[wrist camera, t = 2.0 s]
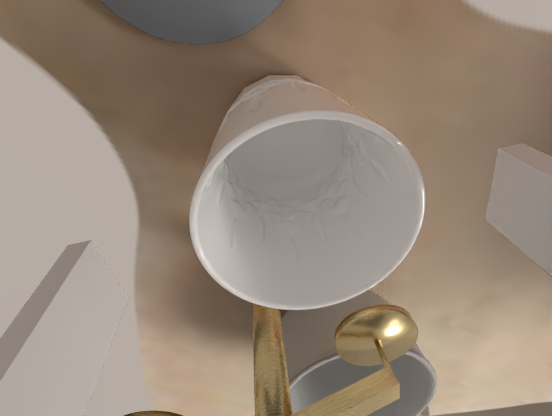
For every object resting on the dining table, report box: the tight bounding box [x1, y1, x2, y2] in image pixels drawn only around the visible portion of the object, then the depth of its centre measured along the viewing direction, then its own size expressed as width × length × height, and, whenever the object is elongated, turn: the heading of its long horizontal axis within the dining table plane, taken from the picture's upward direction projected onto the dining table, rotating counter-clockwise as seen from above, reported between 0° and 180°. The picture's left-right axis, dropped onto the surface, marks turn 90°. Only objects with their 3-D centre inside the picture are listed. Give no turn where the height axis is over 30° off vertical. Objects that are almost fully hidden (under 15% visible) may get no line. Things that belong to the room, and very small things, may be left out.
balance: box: [124, 303, 418, 416], centre depth 17 cm, size 15×4×14 cm, turn 101°
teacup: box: [282, 290, 437, 416], centre depth 25 cm, size 14×11×8 cm
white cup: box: [189, 75, 425, 310], centre depth 15 cm, size 8×8×10 cm
